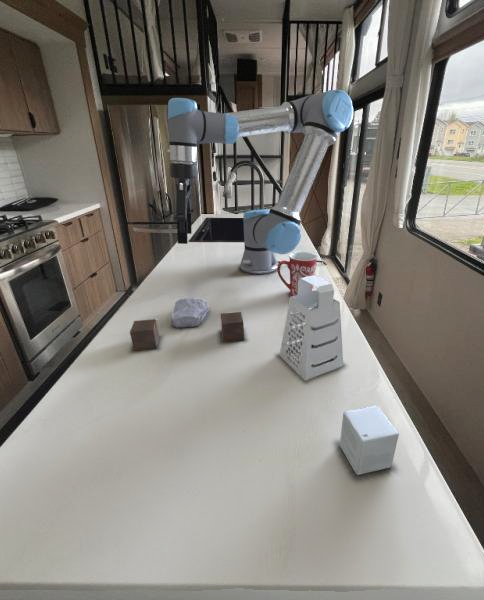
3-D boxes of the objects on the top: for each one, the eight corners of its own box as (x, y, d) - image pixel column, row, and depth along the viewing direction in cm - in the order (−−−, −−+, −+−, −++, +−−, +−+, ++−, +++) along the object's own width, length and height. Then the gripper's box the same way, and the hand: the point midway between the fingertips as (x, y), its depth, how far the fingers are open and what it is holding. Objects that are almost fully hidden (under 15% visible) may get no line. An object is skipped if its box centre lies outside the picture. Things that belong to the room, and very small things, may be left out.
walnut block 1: (159, 337, 86) (156, 318, 83) (156, 348, 81) (153, 329, 78) (138, 339, 85) (134, 320, 83) (134, 350, 80) (129, 331, 78)
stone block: (208, 312, 101) (175, 308, 100) (209, 298, 99) (176, 294, 98) (205, 333, 91) (169, 329, 89) (207, 319, 89) (170, 314, 87)
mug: (313, 288, 112) (315, 251, 106) (316, 300, 104) (319, 260, 98) (276, 289, 112) (277, 251, 106) (277, 300, 104) (277, 260, 98)
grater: (305, 380, 69) (310, 295, 60) (279, 355, 77) (280, 277, 68) (343, 365, 73) (353, 284, 64) (315, 343, 81) (320, 268, 73)
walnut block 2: (241, 329, 88) (241, 311, 86) (244, 340, 83) (243, 321, 81) (221, 331, 88) (220, 313, 85) (222, 342, 83) (221, 323, 80)
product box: (392, 468, 50) (400, 434, 47) (356, 476, 49) (361, 442, 46) (371, 437, 55) (377, 404, 52) (338, 443, 54) (342, 410, 51)
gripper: (175, 161, 102) (177, 229, 110) (162, 162, 79) (166, 247, 87) (199, 163, 103) (199, 230, 111) (193, 164, 80) (194, 248, 88)
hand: (185, 238), depth 99 cm, fingers open, 13 cm apart
